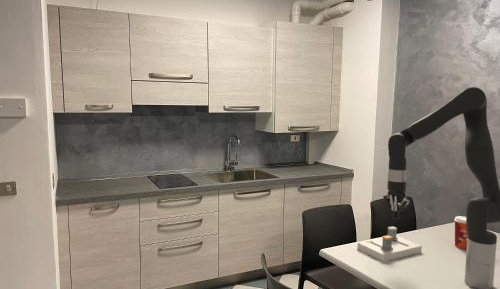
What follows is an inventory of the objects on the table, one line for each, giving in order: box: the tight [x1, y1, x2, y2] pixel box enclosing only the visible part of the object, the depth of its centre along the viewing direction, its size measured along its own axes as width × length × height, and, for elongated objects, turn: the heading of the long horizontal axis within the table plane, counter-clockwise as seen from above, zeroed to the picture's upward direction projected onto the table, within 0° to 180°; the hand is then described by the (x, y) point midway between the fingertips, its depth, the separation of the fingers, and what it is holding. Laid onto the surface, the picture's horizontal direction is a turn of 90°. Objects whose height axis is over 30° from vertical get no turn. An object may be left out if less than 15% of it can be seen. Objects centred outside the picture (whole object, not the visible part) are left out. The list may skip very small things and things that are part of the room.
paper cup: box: [454, 215, 468, 250], centre depth 176 cm, size 8×8×14 cm
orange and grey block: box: [381, 234, 393, 251], centre depth 164 cm, size 4×3×6 cm
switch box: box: [357, 235, 423, 262], centre depth 171 cm, size 24×16×3 cm, turn 117°
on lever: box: [387, 225, 398, 240], centre depth 177 cm, size 4×3×6 cm
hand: (395, 219), depth 159 cm, fingers closed
